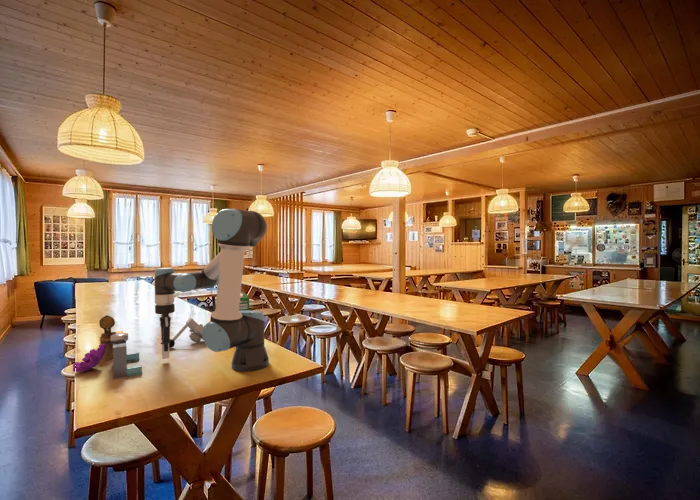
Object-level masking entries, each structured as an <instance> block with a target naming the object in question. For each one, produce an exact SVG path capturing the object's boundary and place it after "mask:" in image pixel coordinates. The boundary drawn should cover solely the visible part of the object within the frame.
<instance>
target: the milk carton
mask: <svg viewBox="0 0 700 500" xmlns="http://www.w3.org/2000/svg"><path fill="white" fill-rule="evenodd" d="M243 310H248V311H250V297H249V296H248V295H247V294H246V293H245V292H243V291H241V294H240V305H239V311H243Z"/></svg>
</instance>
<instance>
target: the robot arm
mask: <svg viewBox="0 0 700 500" xmlns="http://www.w3.org/2000/svg"><path fill="white" fill-rule="evenodd" d="M267 225H268V223H267V221H266V219H265V217H264V216H263V215H262V214H261V213H259V212H257V211H255V210H245V209H238V208H224V209H221V210H219V212H217V213H216V214H215V216H214V217H213V219H212V222H211V232H212V233H213V236H214V238H215V239H217V241H216V242H217V243H216V244H217V245H218V246H219V247H220V252H219V253H218V254H216V255H215V256H214V258H212V259H211V260H210V262H208V264H206V266H205V267H204V268H202V269H201V270H200V271H193V272H180V273H178V272H175V270H174V269H175V268H173V267H160V268H156V269H155V270H154V277H153V279H154V280H153V281H154V304H155V305H154V313H155V314H156V315H161V316H160V317H159V322H160V324H159V325H160V334H161V336H160V337H161V342H160V345H161V359H162V360H165V359H170V348H169V343H170V337H171V335H170V334H171V319H172V318H171V316H170V314H173V313H175V309H176V308H175V298H176V297H177V295H175V292H181V293H185V292H187V293H188V292H191V291H193V290H198V289H207V288H208V289H211V288H212V287H216V286H217V288H216V289H217V290H216V300H215V302H216V303H215V310H214V311H213V312H211V314H210V321H208V322H207V323H205V325H203V331H202V336H203V339H202V341H203V343H204V344H205V345H206V347H207V348H208V349H209V350H210V351H212V352H216V353H220V352H223V351H224V352H225V351H228V350H230V349H233V348H235V350H234V353H233V357H232V360H231V369H232V370H233V371H237V372H254V371H259V370H262V369H265V368H266V367H267V368H268V366H269V365H270V361H269V360H270V359H269V356H268V353H267V352H268V351H267V350H266V347H265V323H266V321H265V314H264V313H263V312H262V311H260V310H249V311H248V310H243V311H239V305H240V294H241V292H242V283H243V274H244V273H243V272H244V262H245V253H246V252H247V251H248V250H249V249H250V248H254V247H256V246H257V245H258V244H260V242H261V241H262V240H263V239H264V237H265V235H266V234H267V233H266V232H267V230H268V229H267V228H268V226H267Z"/></svg>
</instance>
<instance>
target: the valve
mask: <svg viewBox="0 0 700 500" xmlns="http://www.w3.org/2000/svg"><path fill="white" fill-rule="evenodd" d="M186 320H187V319H186ZM185 323H186V324H184V326H183V327H182V328H181V329H180V330H179V331H178V332H177V334H175V336H173V338H171V339H170V343H169V349H171V348H173V347H174V346H175V344H176V342H175V341H177V339H178V338H179V336H181V335H182V334H183V333H184V332H185V330H186V329H187V328H189V332H190V334H189V335H188V337H189V339H190V340H191V341H192V342H194V343H196V344H197V343H198V344H199V342H200V341H201V340H203V336H202V331H203V327H204V325H203V324H202V323H200V324H199V323H197V322H196V321H195V319H193V318H191V317H190V318H188V320H187V321H185Z"/></svg>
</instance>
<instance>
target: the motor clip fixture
mask: <svg viewBox="0 0 700 500" xmlns="http://www.w3.org/2000/svg"><path fill="white" fill-rule="evenodd" d="M115 332H116V334H113V335H111V342H112V343H113V359H112V371H113V373H112V374H113V375H112V376H113V377H112V378H113V379H114V380H116V379H120V378H121V379H122V378H126V377H127V378H130V377H135V376H141V375H143V366H142V365H137V366H132V367H128V363H129V362H136V361H139V360H140V352H131V353H128V352H127V351H128V350H127V348H128V347H127V341H128V340H129V333H127V332H124V330H116V331H115Z"/></svg>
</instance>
